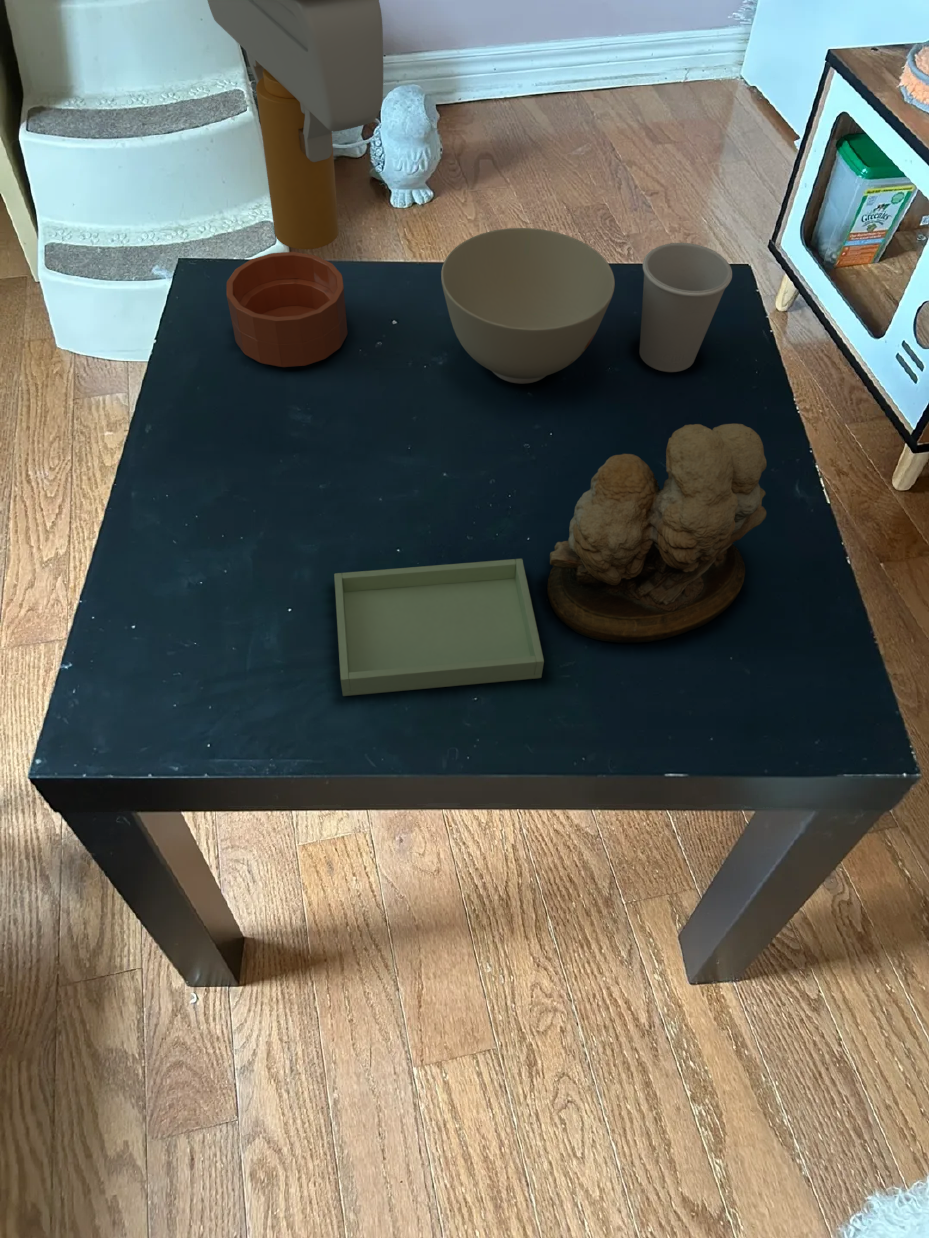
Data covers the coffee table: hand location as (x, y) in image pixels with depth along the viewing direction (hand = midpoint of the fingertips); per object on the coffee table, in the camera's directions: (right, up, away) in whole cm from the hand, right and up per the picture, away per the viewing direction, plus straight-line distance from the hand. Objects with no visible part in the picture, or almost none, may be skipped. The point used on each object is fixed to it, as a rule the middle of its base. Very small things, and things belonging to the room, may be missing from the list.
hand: (297, 137), depth 70 cm
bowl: (+18, -9, +27) cm, 34 cm away
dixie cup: (+33, -8, +29) cm, 44 cm away
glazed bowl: (-5, -6, +28) cm, 30 cm away
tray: (+10, -36, +6) cm, 38 cm away
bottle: (0, -4, +6) cm, 8 cm away
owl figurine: (+27, -32, +10) cm, 43 cm away
